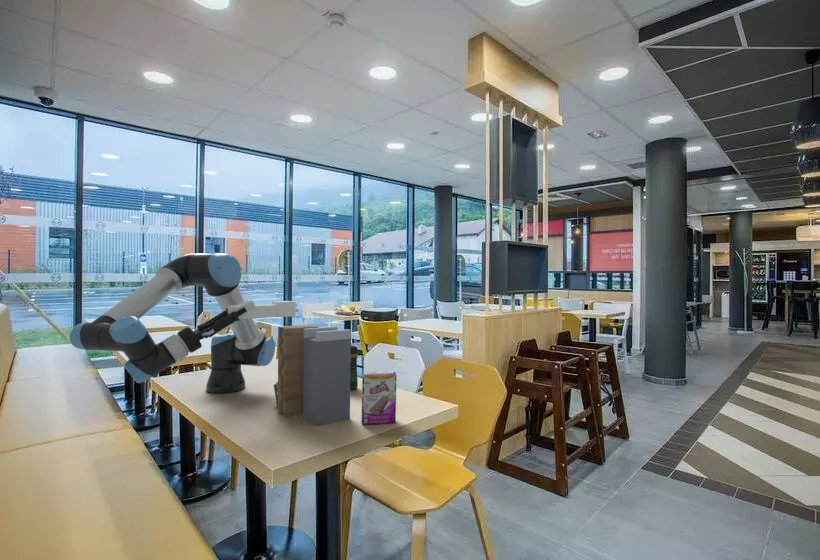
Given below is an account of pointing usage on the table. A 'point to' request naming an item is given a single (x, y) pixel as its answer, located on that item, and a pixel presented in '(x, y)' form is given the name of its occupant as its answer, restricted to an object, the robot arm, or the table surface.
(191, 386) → the table surface
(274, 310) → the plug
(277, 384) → the electrical switch
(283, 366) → the tall wooden block stack
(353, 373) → the coffee jar
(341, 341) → the socket block
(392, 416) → the candy bar box
